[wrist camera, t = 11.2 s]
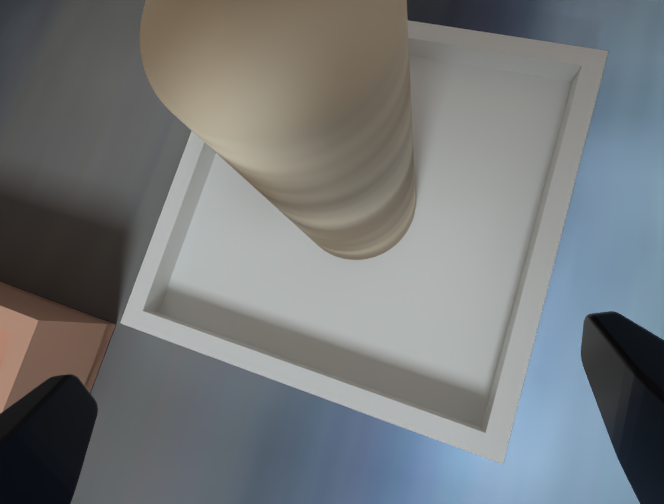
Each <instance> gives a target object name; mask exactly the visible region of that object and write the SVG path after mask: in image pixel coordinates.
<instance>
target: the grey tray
mask: <svg viewBox="0 0 664 504" xmlns="http://www.w3.org/2000/svg"><path fill="white" fill-rule="evenodd" d="M408 40H409V62H410V83H411V105H412V127H413V149H414V171H415V193H416V207H415V214H414V217H413V221H412V223H411V225H410V227H409V229H408V231H407V232H406V234H405V235H404V237H403V238H402V239H401V240H400V241H399V242H398V243H397V244H396V245H395V246H394V247H392V248H391V249H390V250H388V251H386V252H385V253H383V254H381V255H378V256H376V257H373V258H369V259H363V260H349V259H343V258H339V257H336V256H334V255H331V254H329V253H328V252H326V251H324V250H323V249H322V248H320V247H319V246H318V245H317V244H316V243H315V242H314V241H312V240H311V239H310V238H309V237H308V236H307V235H306V234H305V233H304V232H303V231H301V230H300V229H299V228H298V227H297V226H296V225H295V224H294V223H293V222H292V221H290V220H289V219H288V218H287V217H286V216H285V215H284V214H283V213H282V212H281V211H279V210H278V209H277V208H276V207H275V206H274V205H273V204H272V203H271V202H270V201H268V200H267V199H266V198H265V197H264V196H263V195H262V194H261V193H260V192H259V191H257V190H256V189H255V188H254V187H253V186H252V185H251V184H250V183H249V182H248V181H247V180H245V179H244V178H243V177H242V176H241V175H240V174H239V173H238V172H237V171H236V170H234V169H233V168H232V167H231V166H230V165H229V164H228V163H227V162H226V161H225V160H223V159H222V158H221V157H220V156H219V155H218V154H217V153H216V152H215V151H214V150H212V149H211V148H210V147H209V146H208V145H207V144H206V143H205V142H204V141H203V140H201V139H200V138H199V137H198V136H197V135H196V134H195V133H194V132H193V131H192V132H191V134H190V137H189V140H188V142H187V145H186V148H185V151H184V153H183V156H182V159H181V161H180V164H179V167H178V169H177V172H176V175H175V177H174V180H173V183H172V185H171V188H170V191H169V194H168V196H167V199H166V202H165V204H164V207H163V210H162V212H161V215H160V218H159V220H158V223H157V226H156V228H155V231H154V234H153V237H152V239H151V242H150V245H149V247H148V250H147V253H146V255H145V258H144V261H143V263H142V266H141V269H140V271H139V274H138V277H137V280H136V282H135V285H134V288H133V290H132V293H131V296H130V298H129V301H128V304H127V306H126V309H125V312H124V314H123V317H122V320H121V324H124V325H126V326H129V327H132V328H135V329H137V330H140V331H143V332H145V333H148V334H151V335H154V336H156V337H159V338H162V339H164V340H167V341H170V342H173V343H175V344H178V345H181V346H183V347H186V348H189V349H192V350H194V351H197V352H200V353H202V354H205V355H208V356H211V357H213V358H216V359H219V360H221V361H224V362H227V363H229V364H232V365H235V366H238V367H240V368H243V369H246V370H248V371H251V372H254V373H257V374H259V375H262V376H265V377H267V378H270V379H273V380H276V381H278V382H281V383H284V384H286V385H289V386H292V387H295V388H297V389H300V390H303V391H305V392H308V393H311V394H314V395H316V396H319V397H322V398H324V399H327V400H330V401H332V402H335V403H338V404H341V405H343V406H346V407H349V408H351V409H354V410H357V411H360V412H362V413H365V414H368V415H370V416H373V417H376V418H379V419H381V420H384V421H387V422H389V423H392V424H395V425H398V426H400V427H403V428H406V429H408V430H411V431H414V432H417V433H419V434H422V435H425V436H427V437H430V438H433V439H436V440H438V441H441V442H444V443H446V444H449V445H452V446H454V447H457V448H460V449H463V450H465V451H468V452H471V453H473V454H476V455H479V456H482V457H484V458H487V459H490V460H492V461H495V462H498V463H501V464H503V463H504V459H505V455H506V451H507V447H508V443H509V439H510V435H511V431H512V427H513V423H514V419H515V416H516V412H517V408H518V404H519V400H520V396H521V392H522V388H523V384H524V380H525V376H526V372H527V369H528V365H529V361H530V357H531V353H532V349H533V345H534V341H535V337H536V333H537V329H538V325H539V322H540V318H541V314H542V310H543V306H544V302H545V298H546V294H547V290H548V286H549V282H550V278H551V274H552V271H553V267H554V263H555V259H556V255H557V251H558V247H559V243H560V239H561V235H562V231H563V227H564V224H565V220H566V216H567V212H568V208H569V204H570V200H571V196H572V192H573V188H574V184H575V180H576V177H577V173H578V169H579V165H580V161H581V157H582V153H583V149H584V145H585V141H586V137H587V133H588V130H589V126H590V122H591V118H592V114H593V110H594V106H595V102H596V98H597V94H598V90H599V86H600V83H601V79H602V75H603V71H604V67H605V63H606V59H607V55H608V51H606V50H599V49H593V48H586V47H579V46H573V45H566V44H560V43H553V42H547V41H540V40H534V39H527V38H520V37H514V36H507V35H501V34H494V33H488V32H481V31H474V30H468V29H461V28H455V27H448V26H442V25H435V24H428V23H422V22H415V21H409V20H408Z"/></svg>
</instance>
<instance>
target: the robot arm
mask: <svg viewBox="0 0 664 504" xmlns="http://www.w3.org/2000/svg"><path fill="white" fill-rule="evenodd" d="M581 359H582V363H583V367H584V369H585V372H586V375H587V378H588V380H589V383H590V386H591V388H592V391H593V394H594V396H595V399H596V402H597V405H598V407H599V410H600V413H601V415H602V418H603V421H604V423H605V426H606V429H607V431H608V434H609V437H610V440H611V442H612V445H613V447H614V450H615V452H616V455H617V457H618V460H619V462H620V464H621V466H622V468H623V470H624V472H625V474H626V476H627V478H628V480H629V482H630V484H631V486H632V488H633V490H634V492H635V494H636V496H637V498H638V500H639V502H640V504H664V340H663V339H661V338H659V337H658V336H656V335H654V334H653V333H651V332H649V331H648V330H646V329H644V328H643V327H641V326H639V325H638V324H636V323H634V322H633V321H631V320H629V319H628V318H626V317H624V316H623V315H621V314H619V313H617V312H612V311H610V312H601V313H593V314H589V315H587V316H586V317H585V320H584V326H583V335H582V345H581ZM97 411H98V408H97V403H96V401H95V399H94V398H93V397H92V395H91V394H90V392H89V391H88V390H87V388H86V387H85V386H84V384H83V383H82V382H81V380H80V379H79V378H78V377H77V376H75V375H73V374H67V375H58V376H53V377H50V378H49V379H47V380H46V381H44V382H43V383H41V384H40V385H39V386H37V387H36V388H35V389H33V390H32V391H31V392H29V393H28V394H26V395H25V396H24V397H22V398H21V399H20V400H18V401H17V402H15V403H14V404H13V405H11V406H10V407H9V408H7V409H6V410H5V411H3V412H2V413H0V504H70V503H71V500H72V498H73V495H74V492H75V489H76V485H77V482H78V479H79V475H80V472H81V469H82V465H83V462H84V458H85V455H86V451H87V448H88V444H89V441H90V438H91V434H92V431H93V427H94V424H95V420H96V417H97Z"/></svg>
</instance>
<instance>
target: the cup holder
mask: <svg viewBox="0 0 664 504" xmlns="http://www.w3.org/2000/svg"><path fill="white" fill-rule="evenodd" d="M115 325H116V324H113V323H110V322H108V321H105V320H102V319H100V318H97V317H94V316H92V315H89V314H86V313H84V312H81V311H78V310H75V309H73V308H70V307H67V306H65V305H62V304H59V303H57V302H54V301H51V300H48V299H46V298H43V297H40V296H38V295H35V294H32V293H30V292H27V291H24V290H21V289H19V288H16V287H13V286H11V285H8V284H5V283H3V282H0V413H2V412H3V411H5V410H6V409H7V408H9V407H10V406H11V405H13V404H14V403H15V402H17V401H18V400H20V399H21V398H22V397H24V396H25V395H26V394H28V393H29V392H31V391H32V390H33V389H35V388H36V387H37V386H39V385H40V384H41V383H43V382H44V381H46V380H47V379H49V378H50V377H53V376H58V375H67V374H73V375H75V376H77V377H78V378H79V379H80V380H81V382H82V383H83V384H84V386H85V387H86V388H87V390H88V391H89V392H91V389H92V387H93V384H94V381H95V379H96V376H97V373H98V371H99V368H100V365H101V363H102V360H103V357H104V355H105V352H106V349H107V346H108V344H109V341H110V338H111V336H112V333H113V330H114V328H115Z"/></svg>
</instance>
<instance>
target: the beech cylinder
mask: <svg viewBox="0 0 664 504" xmlns="http://www.w3.org/2000/svg"><path fill="white" fill-rule="evenodd" d="M140 50H141V57H142V62H143V66H144V69H145V72H146V76H147V78H148V80H149V82H150V84H151V86H152V88H153V90H154V91H155V93H156V94H157V96H158V97H159V99H160V100H161V102H162V103H163V104H164V105H165V106H166V107H167V108H168V109H169V110H170V111H171V112H172V113H173V114H174V115H175V116H176V117H177V118H178V119H180V120H181V121H182V122H183V123H184V124H185V125H186V126H187V127H188V128H189V129H190V130H192V131H193V132H194V133H195V134H196V135H197V136H198V137H199V138H200V139H201V140H203V141H204V142H205V143H206V144H207V145H208V146H209V147H210V148H211V149H212V150H214V151H215V152H216V153H217V154H218V155H219V156H220V157H221V158H222V159H223V160H225V161H226V162H227V163H228V164H229V165H230V166H231V167H232V168H233V169H234V170H236V171H237V172H238V173H239V174H240V175H241V176H242V177H243V178H244V179H245V180H247V181H248V182H249V183H250V184H251V185H252V186H253V187H254V188H255V189H256V190H257V191H259V192H260V193H261V194H262V195H263V196H264V197H265V198H266V199H267V200H268V201H270V202H271V203H272V204H273V205H274V206H275V207H276V208H277V209H278V210H279V211H281V212H282V213H283V214H284V215H285V216H286V217H287V218H288V219H289V220H290V221H292V222H293V223H294V224H295V225H296V226H297V227H298V228H299V229H300V230H301V231H303V232H304V233H305V234H306V235H307V236H308V237H309V238H310V239H311V240H312V241H314V242H315V243H316V244H317V245H318V246H319V247H320V248H322V249H323V250H324V251H326V252H328V253H329V254H331V255H334V256H336V257H339V258H343V259H349V260H363V259H369V258H373V257H376V256H378V255H381V254H383V253H385V252H386V251H388V250H390V249H391V248H392V247H394V246H395V245H396V244H397V243H398V242H399V241H400V240H401V239H402V238H403V237H404V235H405V234H406V232H407V231H408V229H409V227H410V225H411V223H412V221H413V217H414V214H415V207H416V193H415V171H414V149H413V127H412V105H411V83H410V62H409V40H408V18H407V0H146V1H145V5H144V9H143V13H142V18H141V26H140Z"/></svg>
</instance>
